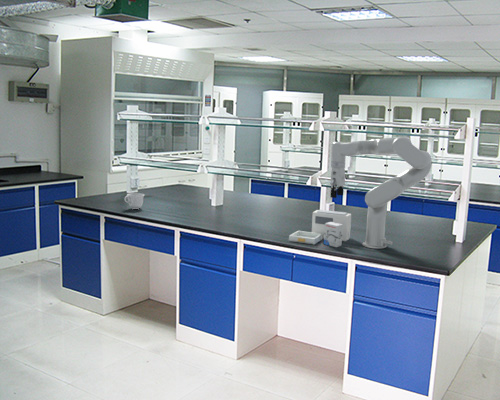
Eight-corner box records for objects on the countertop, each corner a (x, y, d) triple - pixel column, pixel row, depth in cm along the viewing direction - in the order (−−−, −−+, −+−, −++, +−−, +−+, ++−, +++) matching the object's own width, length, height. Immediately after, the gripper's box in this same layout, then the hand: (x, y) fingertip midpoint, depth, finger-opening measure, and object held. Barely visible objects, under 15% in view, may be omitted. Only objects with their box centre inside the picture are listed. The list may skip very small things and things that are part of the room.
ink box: (323, 244, 279) (324, 222, 277) (328, 242, 282) (330, 221, 280) (336, 247, 273) (337, 225, 271) (341, 245, 276) (343, 224, 274)
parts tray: (322, 239, 289) (322, 233, 289) (314, 244, 277) (314, 239, 277) (297, 235, 296) (298, 230, 295) (288, 241, 283) (288, 235, 283)
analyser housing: (350, 238, 293) (351, 212, 291) (345, 241, 285) (347, 215, 283) (316, 233, 302) (317, 208, 299) (311, 236, 294) (312, 211, 292)
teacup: (119, 209, 358) (119, 194, 356) (137, 206, 368) (137, 192, 367) (130, 211, 350) (129, 197, 348) (148, 209, 360) (148, 194, 359)
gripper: (338, 166, 270) (337, 199, 273) (350, 164, 285) (348, 194, 288) (325, 165, 274) (324, 197, 277) (337, 163, 289) (336, 193, 292)
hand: (336, 196), depth 282 cm, fingers open, 9 cm apart
